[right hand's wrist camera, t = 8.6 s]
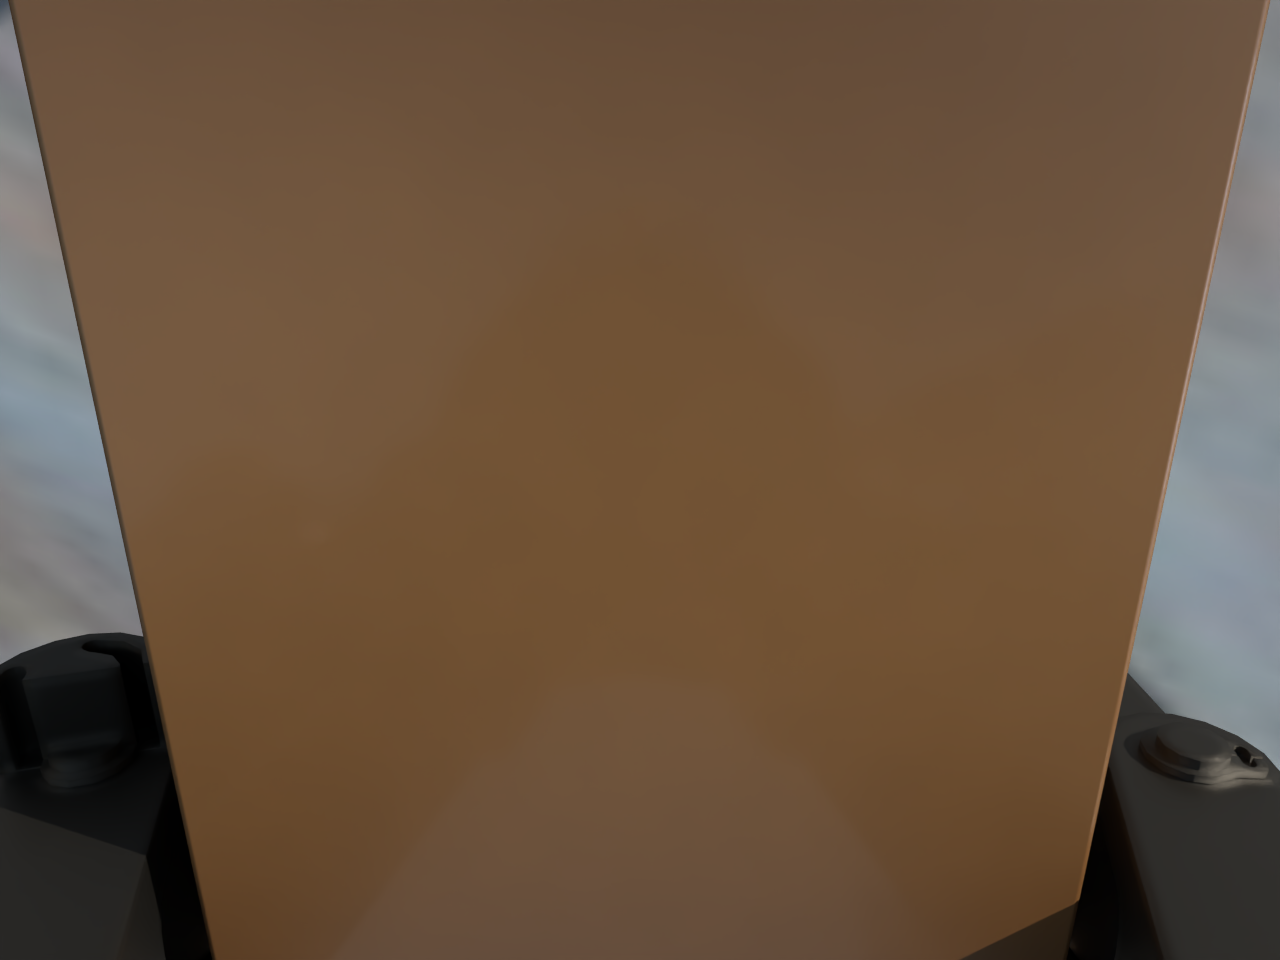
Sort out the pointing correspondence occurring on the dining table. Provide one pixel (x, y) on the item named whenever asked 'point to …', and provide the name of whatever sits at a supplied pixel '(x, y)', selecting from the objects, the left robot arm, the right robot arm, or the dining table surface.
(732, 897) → the box
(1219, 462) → the dining table surface
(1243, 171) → the dining table surface
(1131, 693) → the right robot arm
